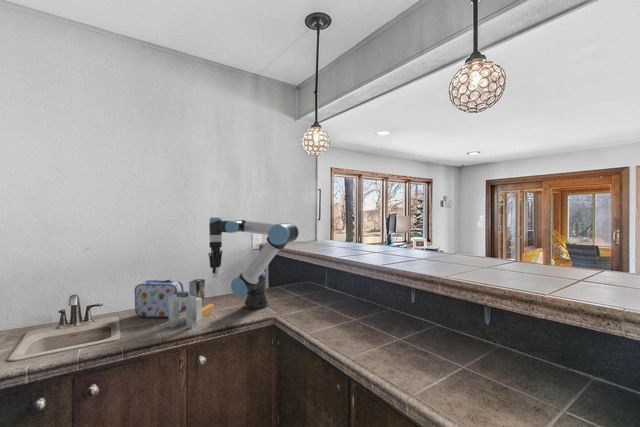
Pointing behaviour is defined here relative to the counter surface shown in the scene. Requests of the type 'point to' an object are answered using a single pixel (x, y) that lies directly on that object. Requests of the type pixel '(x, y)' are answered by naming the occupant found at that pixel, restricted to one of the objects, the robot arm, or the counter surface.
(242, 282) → the robot arm
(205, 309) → the plug
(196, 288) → the coffee box
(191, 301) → the housing
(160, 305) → the lunch box
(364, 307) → the counter surface
